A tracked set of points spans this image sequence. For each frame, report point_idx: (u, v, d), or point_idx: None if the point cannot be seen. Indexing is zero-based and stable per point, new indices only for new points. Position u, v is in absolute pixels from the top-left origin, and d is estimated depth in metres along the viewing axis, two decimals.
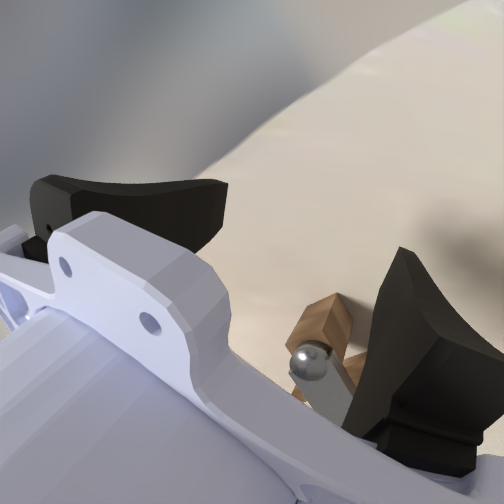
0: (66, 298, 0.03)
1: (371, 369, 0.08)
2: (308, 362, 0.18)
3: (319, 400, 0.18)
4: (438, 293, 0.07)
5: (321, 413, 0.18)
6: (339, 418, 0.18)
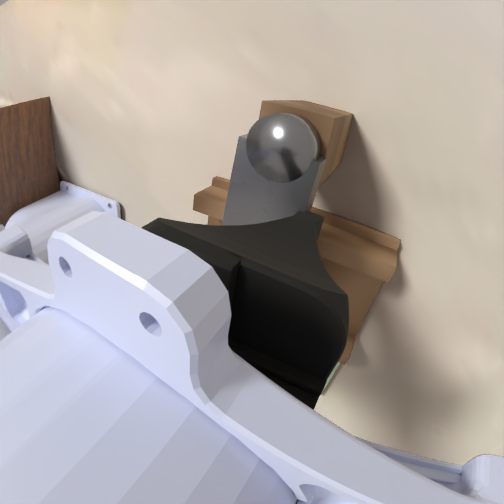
0: (66, 298, 0.03)
1: None
2: (285, 142, 0.10)
3: (243, 213, 0.12)
4: (309, 241, 0.08)
5: None
6: None
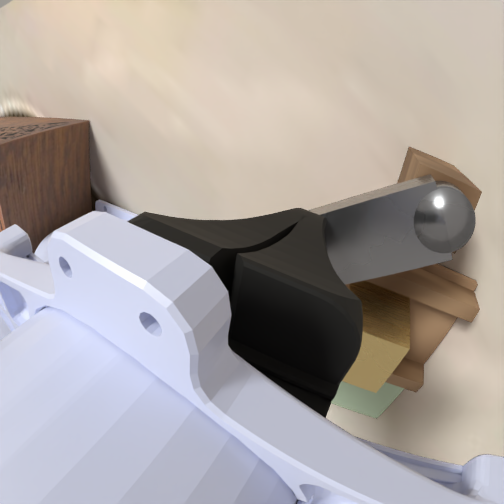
0: (66, 298, 0.03)
1: None
2: (453, 224, 0.09)
3: (367, 223, 0.10)
4: (318, 244, 0.08)
5: (332, 220, 0.11)
6: None
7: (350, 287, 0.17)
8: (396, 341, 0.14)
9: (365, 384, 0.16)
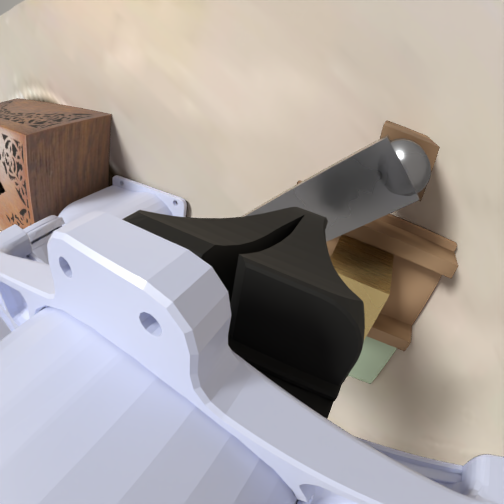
0: (66, 298, 0.03)
1: None
2: (411, 169, 0.11)
3: (341, 182, 0.13)
4: (319, 245, 0.08)
5: (314, 185, 0.14)
6: None
7: (337, 243, 0.20)
8: (377, 287, 0.16)
9: None
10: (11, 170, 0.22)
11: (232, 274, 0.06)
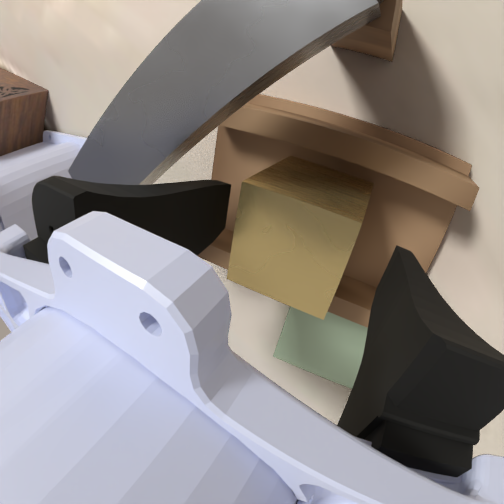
0: (66, 298, 0.03)
1: (367, 368, 0.08)
2: None
3: (232, 3, 0.06)
4: (434, 291, 0.07)
5: (192, 21, 0.06)
6: (190, 64, 0.07)
7: (280, 162, 0.13)
8: (338, 211, 0.09)
9: (303, 303, 0.11)
10: None
11: None
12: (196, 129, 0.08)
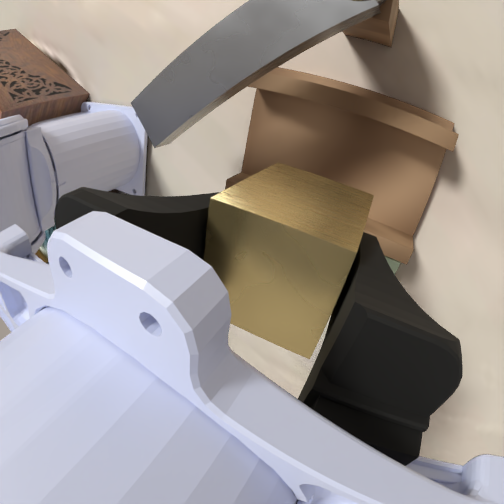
0: (66, 298, 0.03)
1: (322, 349, 0.08)
2: None
3: None
4: (389, 272, 0.07)
5: (257, 2, 0.09)
6: (253, 30, 0.10)
7: (263, 171, 0.11)
8: (326, 236, 0.07)
9: (286, 340, 0.09)
10: None
11: None
12: (253, 72, 0.11)
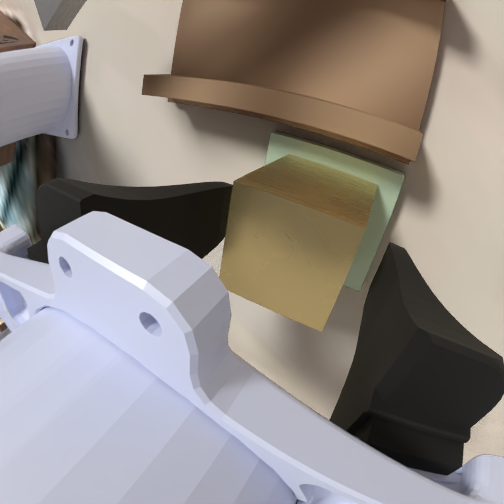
0: (66, 298, 0.03)
1: (358, 364, 0.08)
2: None
3: None
4: (426, 288, 0.07)
5: None
6: None
7: (277, 161, 0.12)
8: (338, 215, 0.08)
9: (300, 314, 0.10)
10: None
11: None
12: None
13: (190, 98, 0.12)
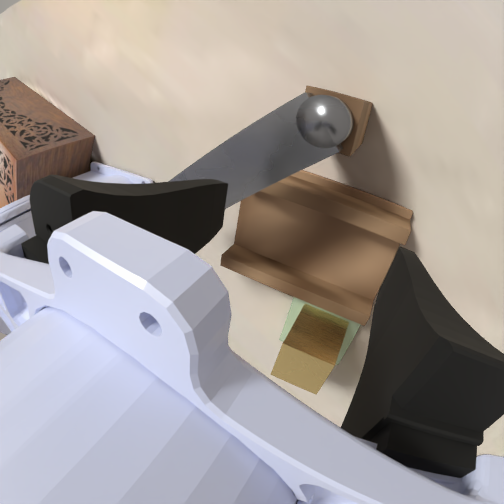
0: (66, 298, 0.03)
1: (371, 369, 0.08)
2: (330, 122, 0.12)
3: (263, 136, 0.14)
4: (438, 293, 0.07)
5: (239, 140, 0.14)
6: (236, 166, 0.15)
7: (299, 315, 0.24)
8: (324, 358, 0.20)
9: (307, 387, 0.22)
10: (2, 176, 0.23)
11: None
12: (237, 201, 0.16)
13: (253, 278, 0.24)
